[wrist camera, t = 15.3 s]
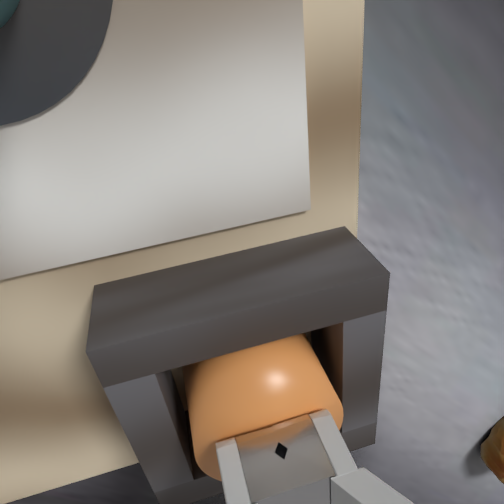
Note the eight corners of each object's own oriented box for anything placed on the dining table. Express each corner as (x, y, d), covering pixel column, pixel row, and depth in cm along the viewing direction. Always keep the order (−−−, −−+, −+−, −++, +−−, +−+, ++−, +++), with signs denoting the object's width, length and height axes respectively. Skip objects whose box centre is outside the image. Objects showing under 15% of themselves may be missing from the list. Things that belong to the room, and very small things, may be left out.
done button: (168, 324, 12) (178, 411, 9) (300, 290, 12) (344, 363, 10) (195, 410, 14) (209, 500, 11) (306, 377, 14) (342, 456, 12)
